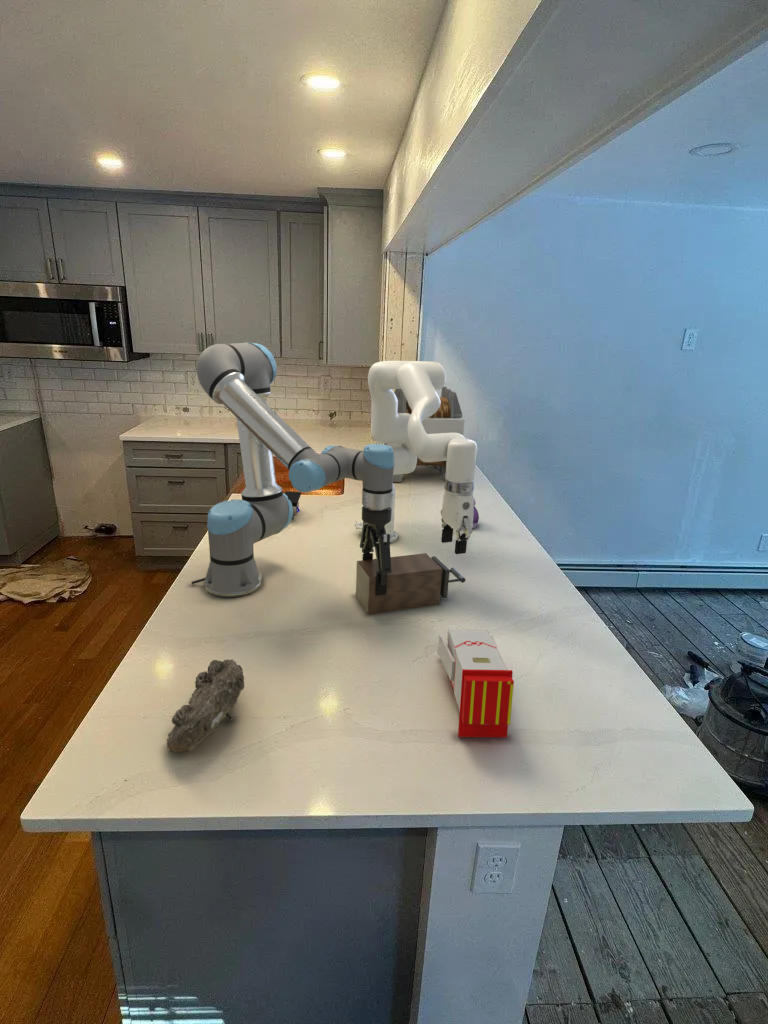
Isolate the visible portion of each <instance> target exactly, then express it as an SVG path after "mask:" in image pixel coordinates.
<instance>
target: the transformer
mask: <svg viewBox="0 0 768 1024" xmlns="http://www.w3.org/2000/svg"><path fill="white" fill-rule="evenodd" d="M393 392H394V393H395V395H396V397H397V400H398V413H408V414H411V413H412V410H411V408H410V406H409V404H408V402H407V399H406V397H405V395H404V393H403V391H402V389H394V391H393ZM440 393H441V394H440V396H439V398H440V402H441V404H440V407H439V409H438V410H437V411H436V412H435V413H434V414H433V415H432V416H430V417H428V418H427V419H425V420H423V421H421V423H422V426H423V428H424V430H425V432H426V433H427V434H436V433H459V434H461V435H462V436H464V431H465V430H464V429H465V419H464V418H463V411H462V408H461V405H460V402H459V398H458V395H457V392H455V391H453V390H452V389H451V388H447V386H444V387H443V388H442V389H441V392H440ZM384 445H388V446H391V447H393V446H400V443H386V444H384ZM446 463H447V461H438V462H423V461H421V460H420V459H419V458H418V457H417V465H416V467H417V466H418V467H436V468H437V470H438V469H439V473H440V474H441V475H443V478H444V479H445V476H446ZM403 475H404V474H399V475H393V483H402V482H403Z"/></svg>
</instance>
